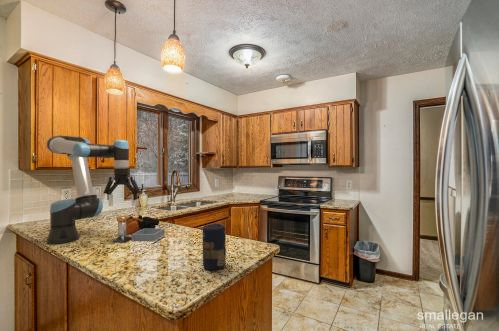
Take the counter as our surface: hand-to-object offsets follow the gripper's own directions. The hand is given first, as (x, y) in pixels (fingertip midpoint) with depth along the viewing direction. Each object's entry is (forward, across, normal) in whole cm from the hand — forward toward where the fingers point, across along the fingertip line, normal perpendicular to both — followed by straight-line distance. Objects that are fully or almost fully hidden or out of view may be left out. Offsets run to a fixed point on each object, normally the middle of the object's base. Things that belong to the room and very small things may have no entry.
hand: (122, 206), depth 138 cm
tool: (+21, 0, +19) cm, 28 cm away
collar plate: (+20, 0, 0) cm, 20 cm away
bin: (+20, +12, +5) cm, 24 cm away
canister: (+21, +60, -29) cm, 70 cm away
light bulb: (+19, 0, 0) cm, 19 cm away
